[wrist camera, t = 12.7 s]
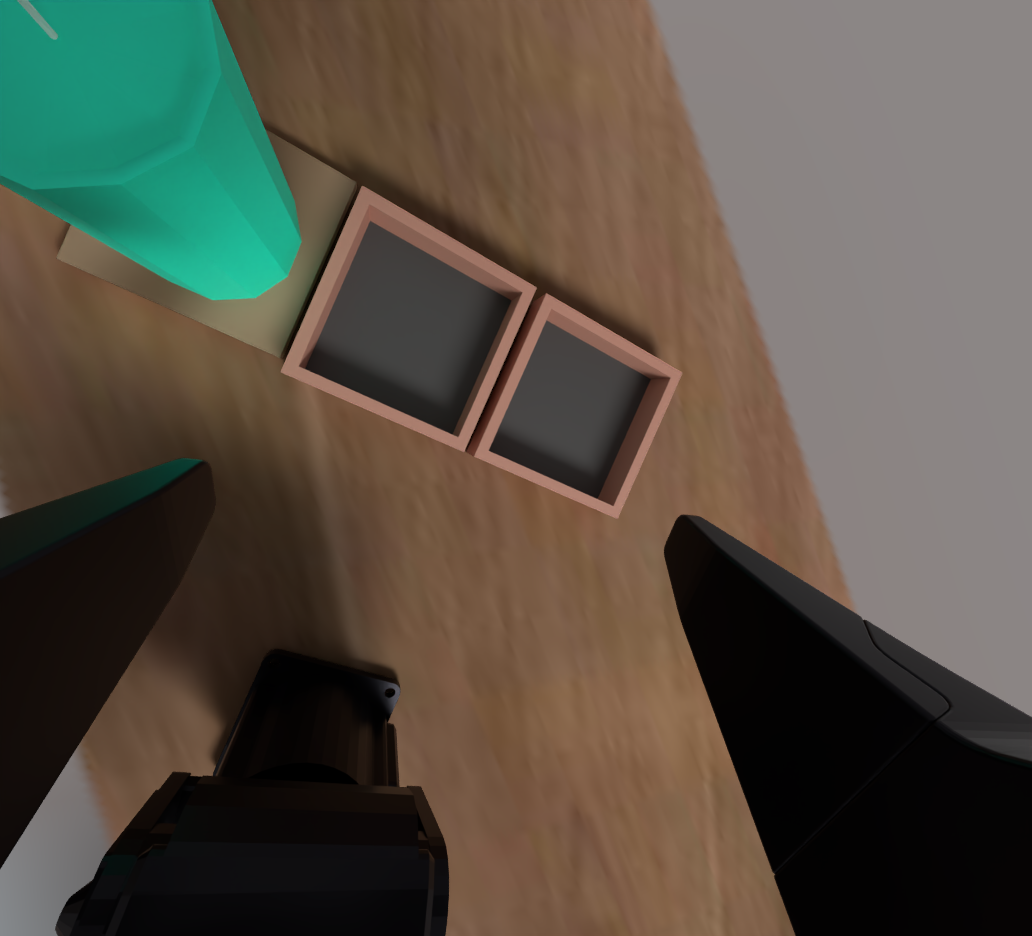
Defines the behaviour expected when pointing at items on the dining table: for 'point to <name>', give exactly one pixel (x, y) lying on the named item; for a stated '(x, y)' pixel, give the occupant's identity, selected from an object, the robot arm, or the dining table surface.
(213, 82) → the candle
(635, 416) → the tray
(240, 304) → the pad
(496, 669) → the dining table surface
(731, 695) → the robot arm
